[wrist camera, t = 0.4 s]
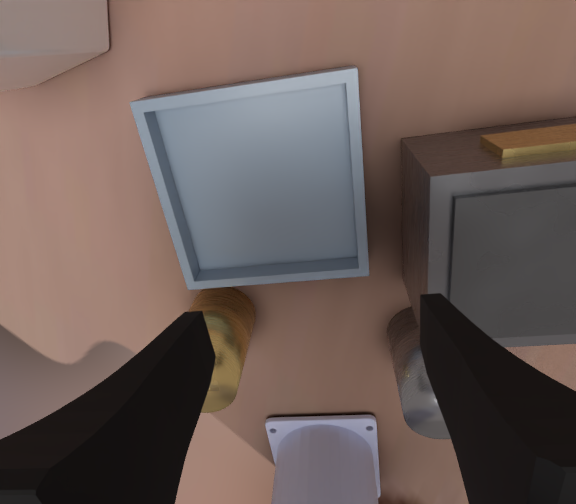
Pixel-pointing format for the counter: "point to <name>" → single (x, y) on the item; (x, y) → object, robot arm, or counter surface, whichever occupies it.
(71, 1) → the jar
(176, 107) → the tray
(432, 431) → the part grey
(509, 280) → the unit
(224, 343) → the part brass
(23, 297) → the counter surface
